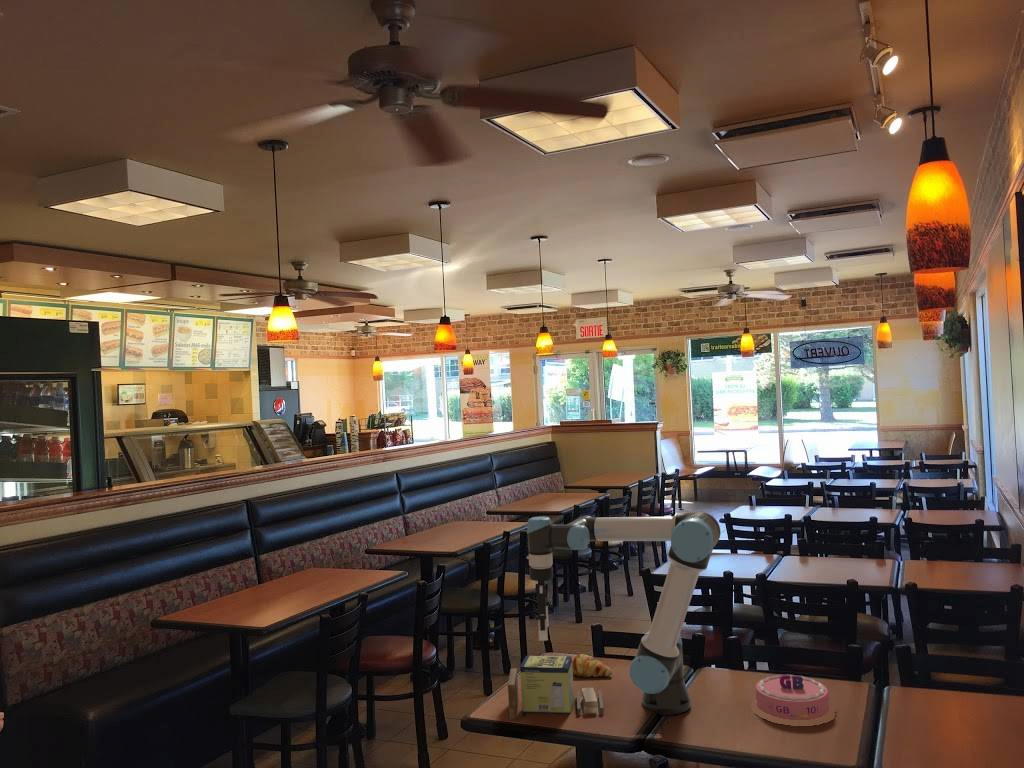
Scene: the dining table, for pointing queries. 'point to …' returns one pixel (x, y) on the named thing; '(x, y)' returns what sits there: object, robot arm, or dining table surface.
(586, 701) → the offcut stack
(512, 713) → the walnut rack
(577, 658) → the croissant
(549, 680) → the protein box
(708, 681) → the dining table surface
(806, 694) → the cake
